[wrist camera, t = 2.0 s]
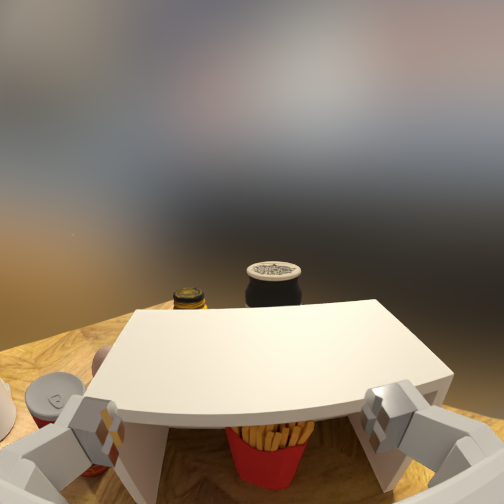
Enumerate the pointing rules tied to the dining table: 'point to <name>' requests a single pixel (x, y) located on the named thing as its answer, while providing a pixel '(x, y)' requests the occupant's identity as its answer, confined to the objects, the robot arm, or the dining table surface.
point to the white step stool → (256, 376)
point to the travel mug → (273, 285)
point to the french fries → (269, 451)
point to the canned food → (55, 402)
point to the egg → (100, 358)
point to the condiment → (189, 299)
